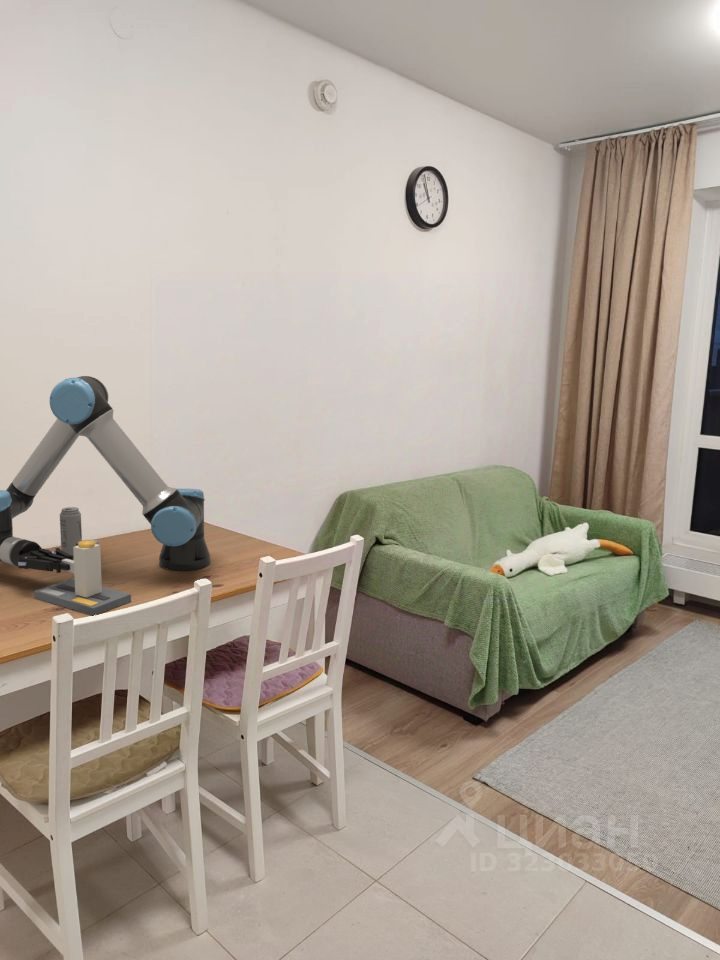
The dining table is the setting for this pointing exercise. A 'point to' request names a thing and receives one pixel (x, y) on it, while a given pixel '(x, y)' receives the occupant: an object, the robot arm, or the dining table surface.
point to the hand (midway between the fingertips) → (81, 568)
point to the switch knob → (87, 568)
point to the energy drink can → (70, 529)
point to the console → (81, 598)
